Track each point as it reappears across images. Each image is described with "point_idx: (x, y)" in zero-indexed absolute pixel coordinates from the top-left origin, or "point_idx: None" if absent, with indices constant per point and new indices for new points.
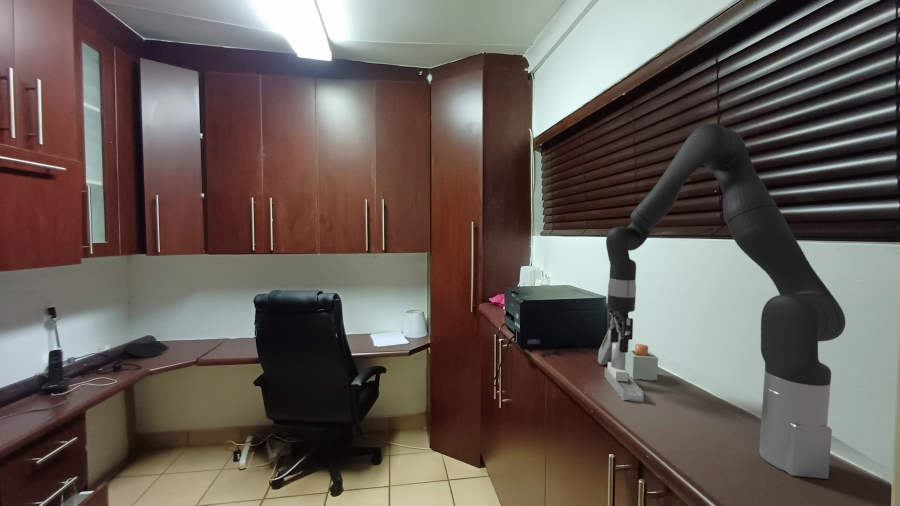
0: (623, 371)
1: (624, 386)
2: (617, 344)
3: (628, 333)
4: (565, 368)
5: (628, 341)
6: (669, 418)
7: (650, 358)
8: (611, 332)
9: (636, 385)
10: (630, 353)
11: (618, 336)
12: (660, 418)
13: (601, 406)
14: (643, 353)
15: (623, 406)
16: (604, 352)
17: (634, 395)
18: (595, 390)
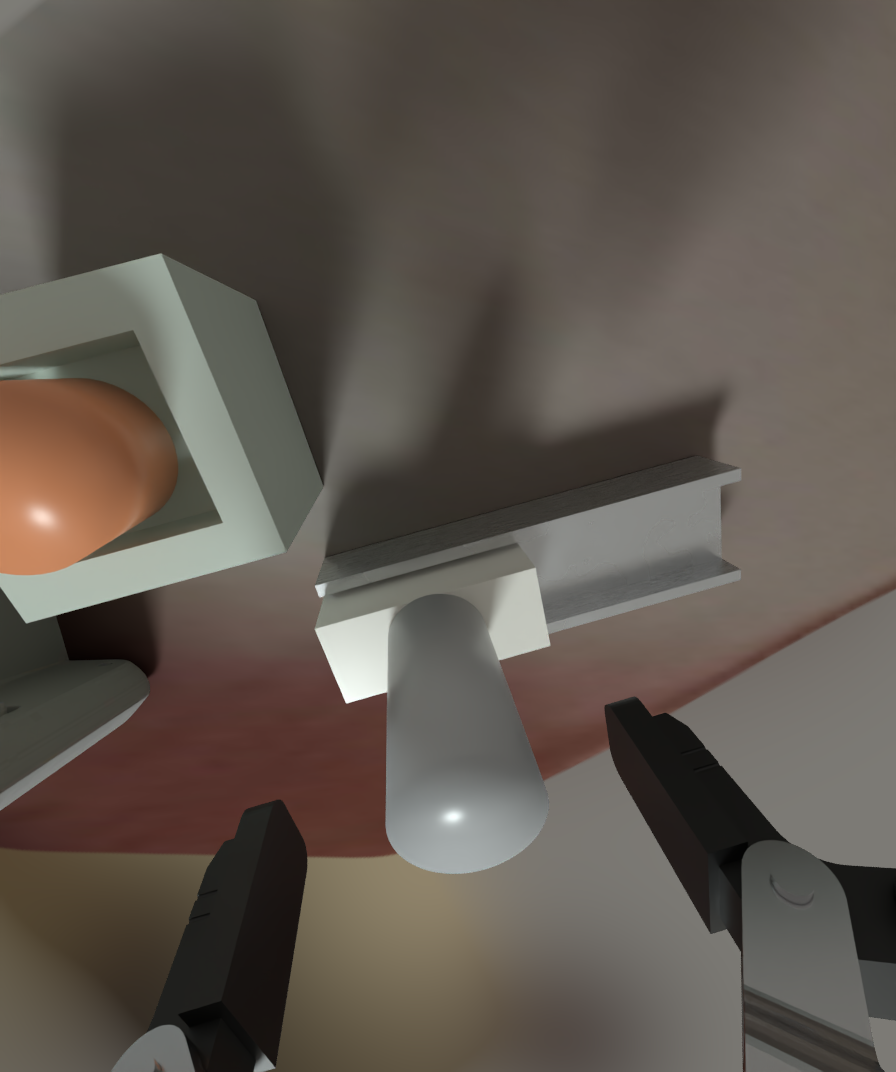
0: (528, 600)
1: (591, 560)
2: (499, 828)
3: (861, 1005)
4: (342, 828)
5: (727, 818)
6: (877, 338)
7: (211, 362)
8: (275, 1045)
9: (639, 503)
10: (168, 579)
11: (245, 901)
12: (879, 389)
13: (782, 643)
14: (149, 447)
15: (768, 555)
16: (83, 744)
17: (715, 511)
18: (606, 677)
